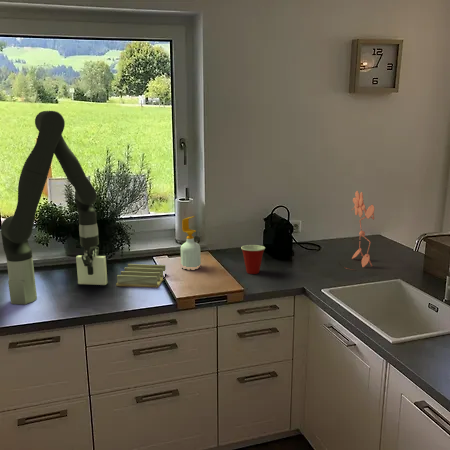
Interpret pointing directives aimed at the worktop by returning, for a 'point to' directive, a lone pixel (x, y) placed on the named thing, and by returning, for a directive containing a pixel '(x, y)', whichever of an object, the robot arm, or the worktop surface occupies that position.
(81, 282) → the pale green flat slab
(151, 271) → the dish rack
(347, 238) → the worktop surface
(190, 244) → the soap bottle
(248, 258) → the plastic cup
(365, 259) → the figurine
